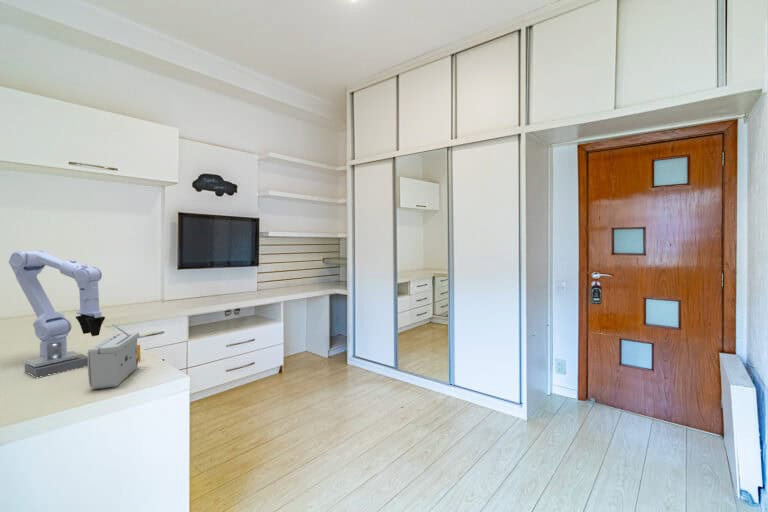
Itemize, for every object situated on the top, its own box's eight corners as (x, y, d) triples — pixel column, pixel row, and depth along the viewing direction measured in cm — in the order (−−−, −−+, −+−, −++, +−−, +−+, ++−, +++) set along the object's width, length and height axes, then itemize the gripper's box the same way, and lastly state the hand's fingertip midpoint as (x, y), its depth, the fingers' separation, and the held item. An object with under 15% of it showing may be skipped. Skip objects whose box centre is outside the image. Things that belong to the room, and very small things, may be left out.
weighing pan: (26, 363, 130) (26, 360, 130) (72, 353, 141) (72, 351, 141) (34, 367, 126) (34, 364, 126) (81, 356, 137) (81, 354, 137)
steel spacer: (45, 358, 133) (44, 344, 133) (59, 355, 137) (58, 341, 136) (49, 359, 131) (49, 345, 131) (63, 356, 134) (63, 343, 134)
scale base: (24, 372, 132) (24, 362, 132) (76, 360, 145) (76, 351, 144) (36, 378, 126) (36, 368, 125) (90, 365, 138) (89, 356, 138)
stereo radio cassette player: (115, 369, 133) (113, 314, 133) (141, 367, 136) (139, 312, 135) (87, 392, 113) (84, 327, 113) (118, 388, 116) (115, 324, 115)
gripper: (68, 299, 143) (70, 334, 143) (84, 302, 135) (86, 339, 135) (90, 296, 148) (92, 330, 149) (107, 299, 141) (108, 335, 141)
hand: (91, 334), depth 143 cm, fingers open, 7 cm apart
